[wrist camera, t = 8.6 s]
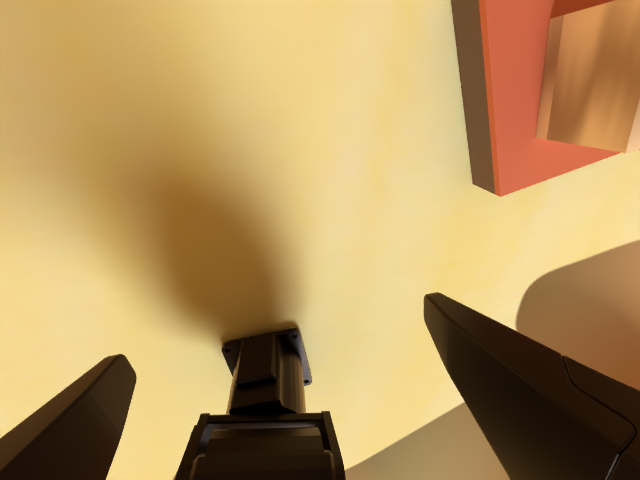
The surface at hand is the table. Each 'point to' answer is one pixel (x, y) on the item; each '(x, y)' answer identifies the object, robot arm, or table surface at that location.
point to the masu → (593, 78)
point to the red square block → (511, 92)
